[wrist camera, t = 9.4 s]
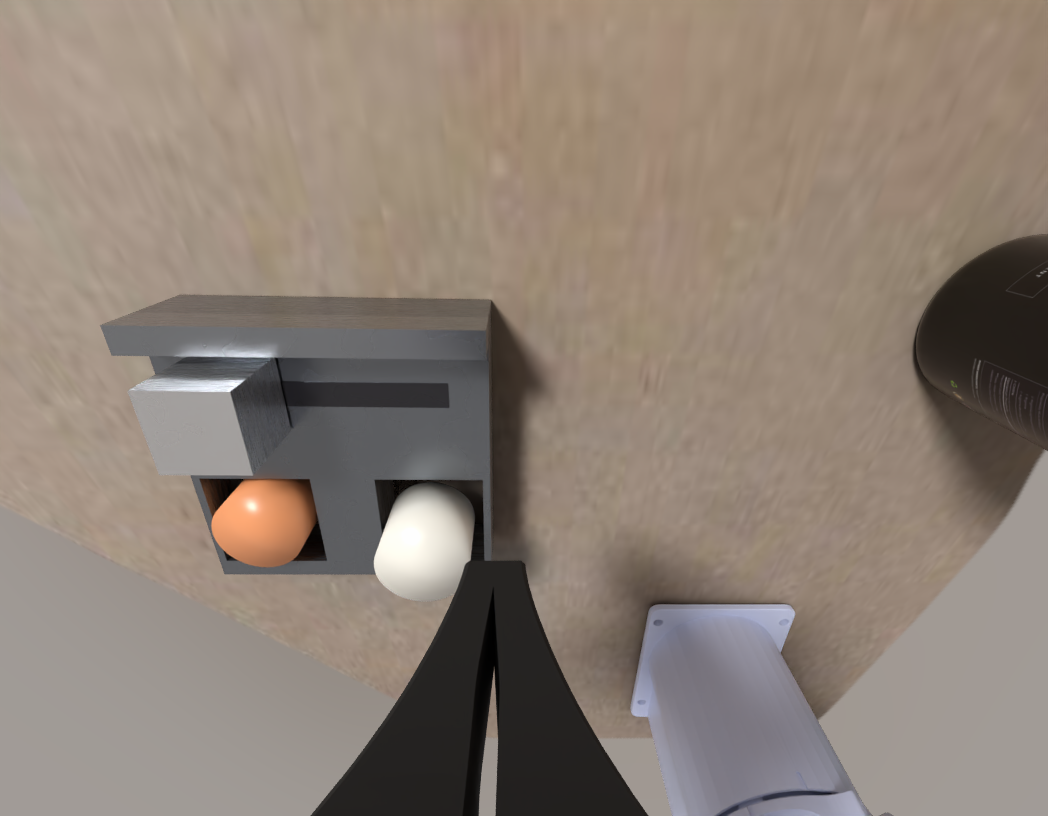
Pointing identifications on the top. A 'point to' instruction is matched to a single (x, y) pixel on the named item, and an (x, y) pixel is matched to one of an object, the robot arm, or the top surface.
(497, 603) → the robot arm
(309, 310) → the panel
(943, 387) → the supplement bottle
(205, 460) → the slider knob
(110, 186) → the top surface
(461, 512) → the ivory button
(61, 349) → the top surface
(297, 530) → the orange button
